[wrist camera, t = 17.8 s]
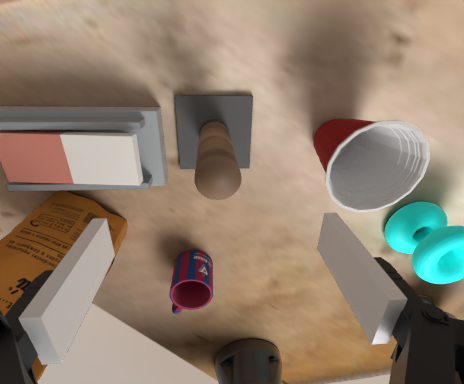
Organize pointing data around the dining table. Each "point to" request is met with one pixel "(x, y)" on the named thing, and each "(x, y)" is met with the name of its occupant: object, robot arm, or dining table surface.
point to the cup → (191, 281)
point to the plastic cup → (371, 161)
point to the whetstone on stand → (95, 120)
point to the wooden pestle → (216, 162)
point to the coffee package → (48, 244)
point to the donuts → (428, 242)
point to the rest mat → (207, 108)
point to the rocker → (70, 157)
